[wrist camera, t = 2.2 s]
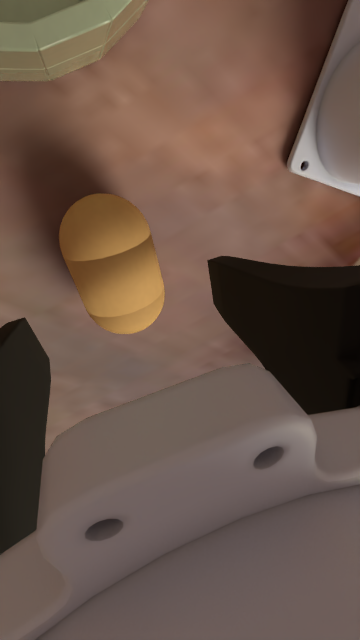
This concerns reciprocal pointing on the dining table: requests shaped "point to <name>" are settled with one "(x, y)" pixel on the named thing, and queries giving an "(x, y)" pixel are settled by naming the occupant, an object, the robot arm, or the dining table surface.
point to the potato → (113, 262)
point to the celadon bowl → (59, 35)
